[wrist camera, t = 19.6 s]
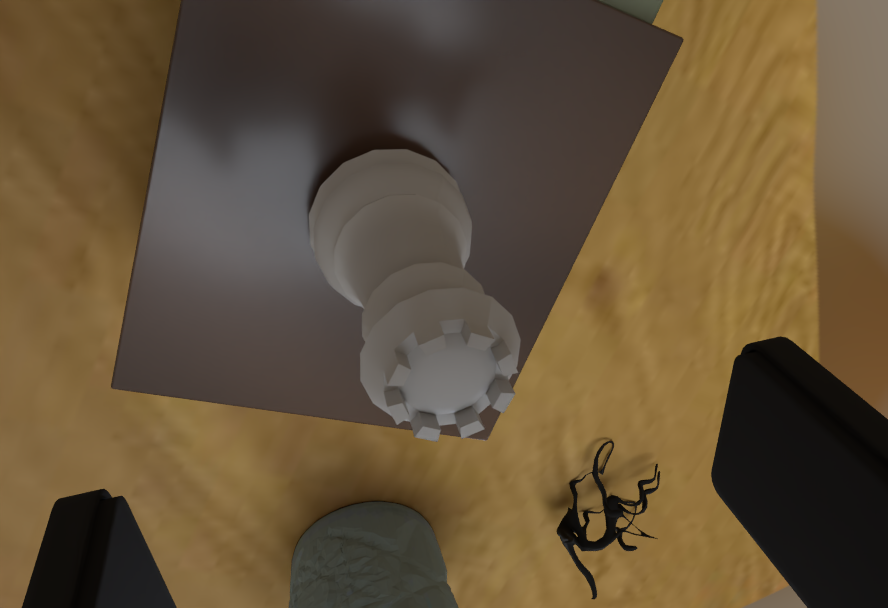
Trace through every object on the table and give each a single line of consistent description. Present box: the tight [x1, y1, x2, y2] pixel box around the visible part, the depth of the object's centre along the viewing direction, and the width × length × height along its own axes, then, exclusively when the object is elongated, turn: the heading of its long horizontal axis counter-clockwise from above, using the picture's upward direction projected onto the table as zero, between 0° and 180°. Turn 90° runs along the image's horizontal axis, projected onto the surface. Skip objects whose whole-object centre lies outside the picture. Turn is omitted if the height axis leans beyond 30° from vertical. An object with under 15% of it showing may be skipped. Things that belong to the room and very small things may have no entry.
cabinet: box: [111, 0, 684, 440], centre depth 23 cm, size 15×13×10 cm
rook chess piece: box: [309, 149, 521, 442], centre depth 16 cm, size 4×4×8 cm
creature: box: [557, 441, 660, 599], centre depth 40 cm, size 8×5×8 cm
